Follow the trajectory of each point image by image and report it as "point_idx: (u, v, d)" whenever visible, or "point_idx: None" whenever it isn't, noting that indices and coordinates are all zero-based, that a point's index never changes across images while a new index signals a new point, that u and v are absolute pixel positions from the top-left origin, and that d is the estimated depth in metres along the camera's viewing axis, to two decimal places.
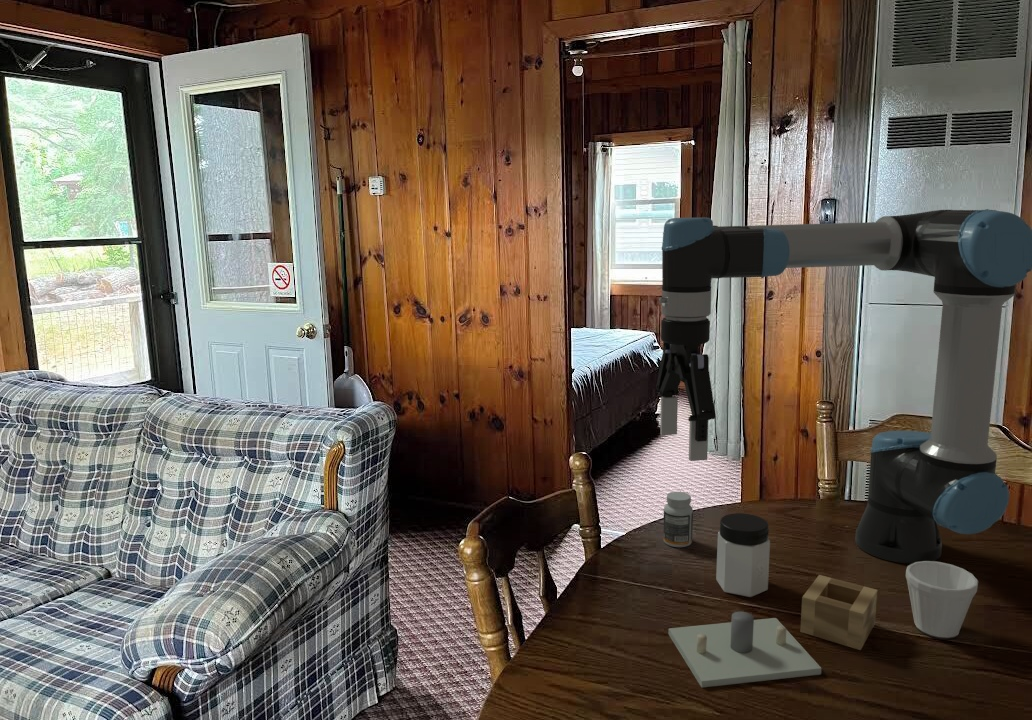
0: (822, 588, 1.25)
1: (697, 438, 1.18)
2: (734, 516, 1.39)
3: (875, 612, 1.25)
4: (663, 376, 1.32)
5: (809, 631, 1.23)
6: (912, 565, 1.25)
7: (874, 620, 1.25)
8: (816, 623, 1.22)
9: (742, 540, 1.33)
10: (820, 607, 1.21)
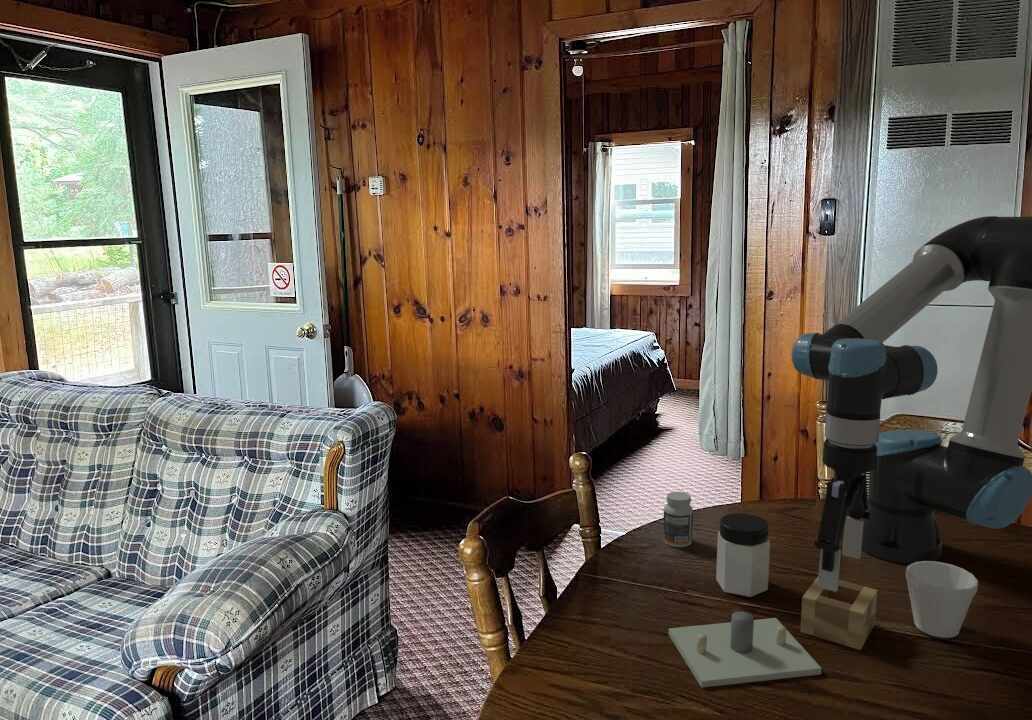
0: (822, 588, 1.25)
1: (822, 566, 1.16)
2: (734, 516, 1.39)
3: (875, 612, 1.25)
4: None
5: (809, 631, 1.23)
6: (912, 565, 1.25)
7: (874, 620, 1.25)
8: (816, 623, 1.22)
9: (742, 540, 1.33)
10: (820, 607, 1.21)
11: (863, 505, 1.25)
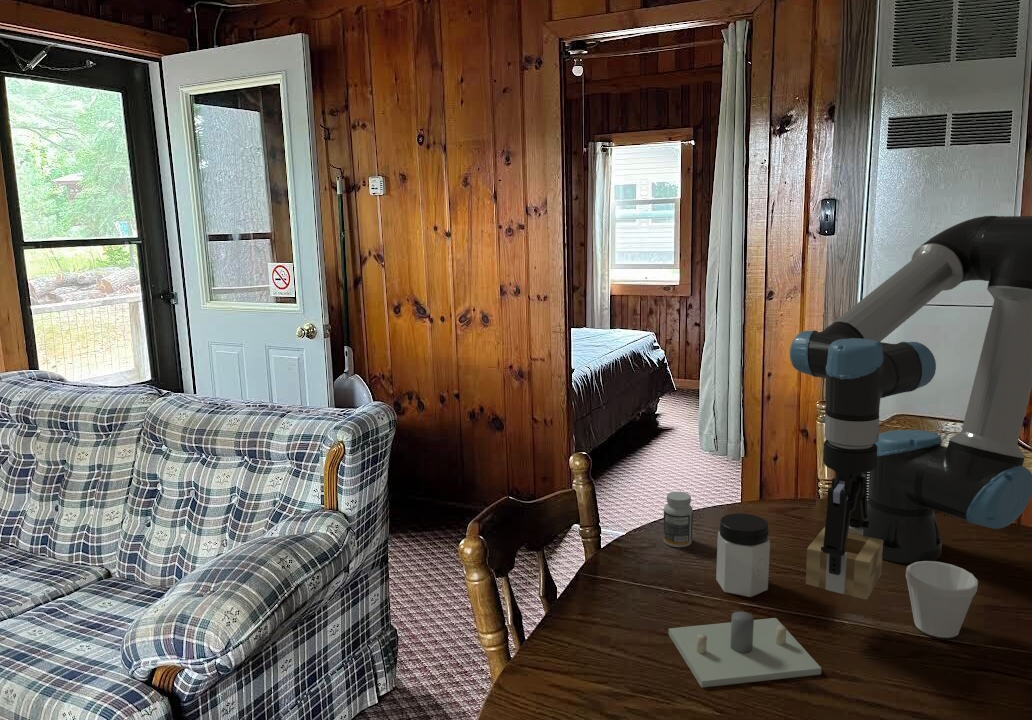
0: None
1: (829, 570, 1.18)
2: (734, 516, 1.39)
3: (881, 563, 1.23)
4: None
5: (815, 583, 1.21)
6: (912, 565, 1.25)
7: (880, 571, 1.23)
8: (821, 574, 1.20)
9: (742, 540, 1.33)
10: (825, 558, 1.19)
11: (863, 512, 1.24)
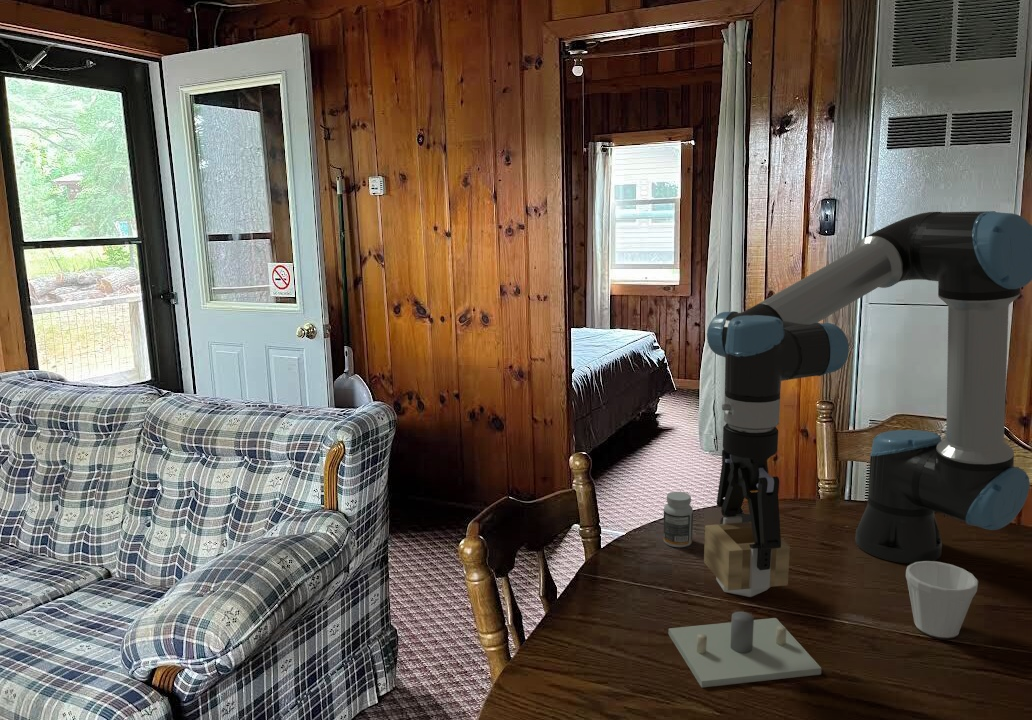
0: (728, 536, 1.14)
1: (759, 567, 1.09)
2: None
3: None
4: (724, 490, 1.19)
5: (737, 586, 1.10)
6: (912, 565, 1.25)
7: None
8: (744, 574, 1.10)
9: None
10: (748, 555, 1.10)
11: None
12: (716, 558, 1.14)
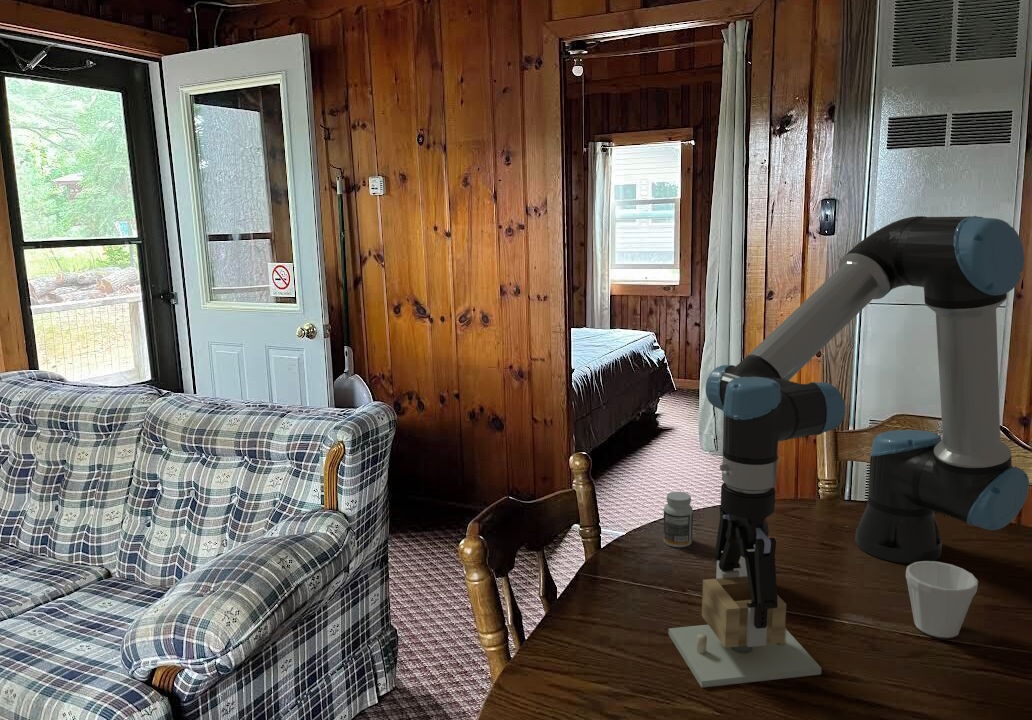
0: (725, 592, 1.16)
1: (756, 625, 1.10)
2: None
3: None
4: (722, 545, 1.21)
5: (734, 643, 1.12)
6: (912, 565, 1.25)
7: None
8: (741, 631, 1.12)
9: None
10: (745, 613, 1.12)
11: None
12: (714, 614, 1.16)
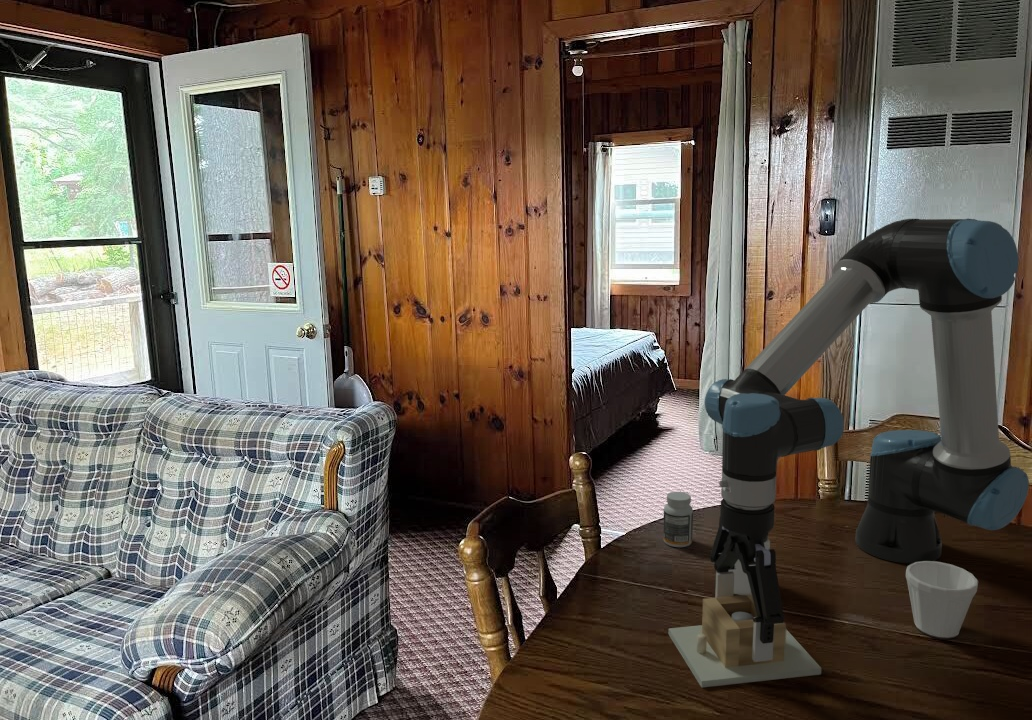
0: (725, 612, 1.16)
1: (762, 640, 1.09)
2: None
3: None
4: (718, 550, 1.23)
5: (734, 663, 1.13)
6: (912, 565, 1.25)
7: None
8: (741, 651, 1.13)
9: None
10: (745, 633, 1.12)
11: None
12: (714, 633, 1.16)
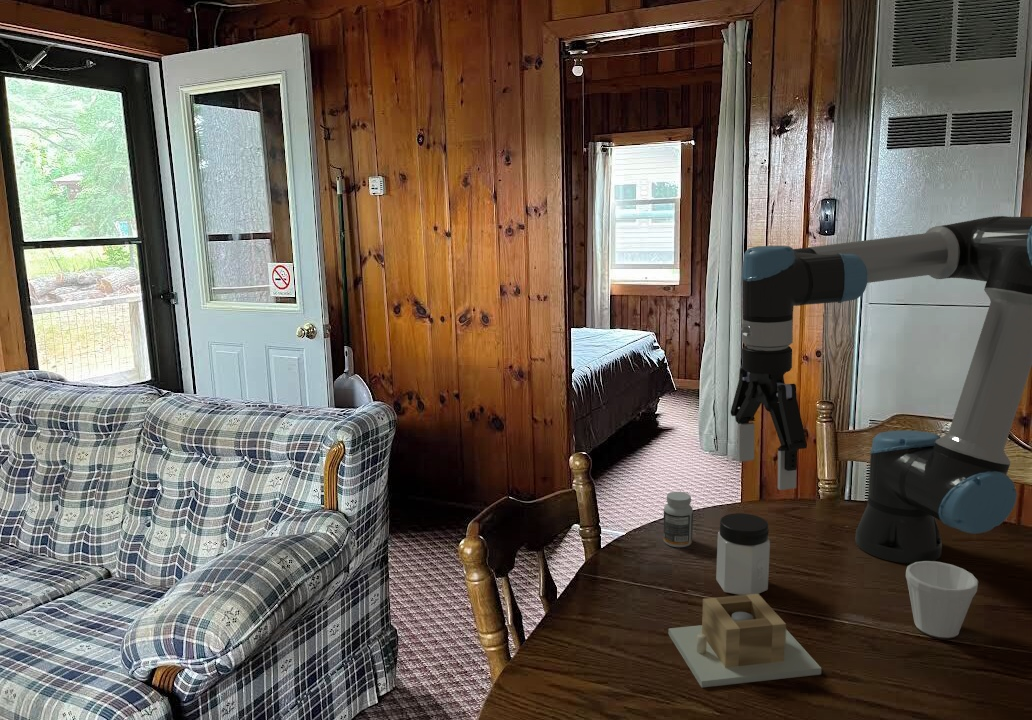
0: (725, 612, 1.16)
1: (787, 468, 1.18)
2: (734, 516, 1.39)
3: None
4: (739, 402, 1.32)
5: (734, 663, 1.13)
6: (912, 565, 1.25)
7: None
8: (741, 651, 1.13)
9: (742, 540, 1.33)
10: (745, 633, 1.12)
11: None
12: (714, 633, 1.16)
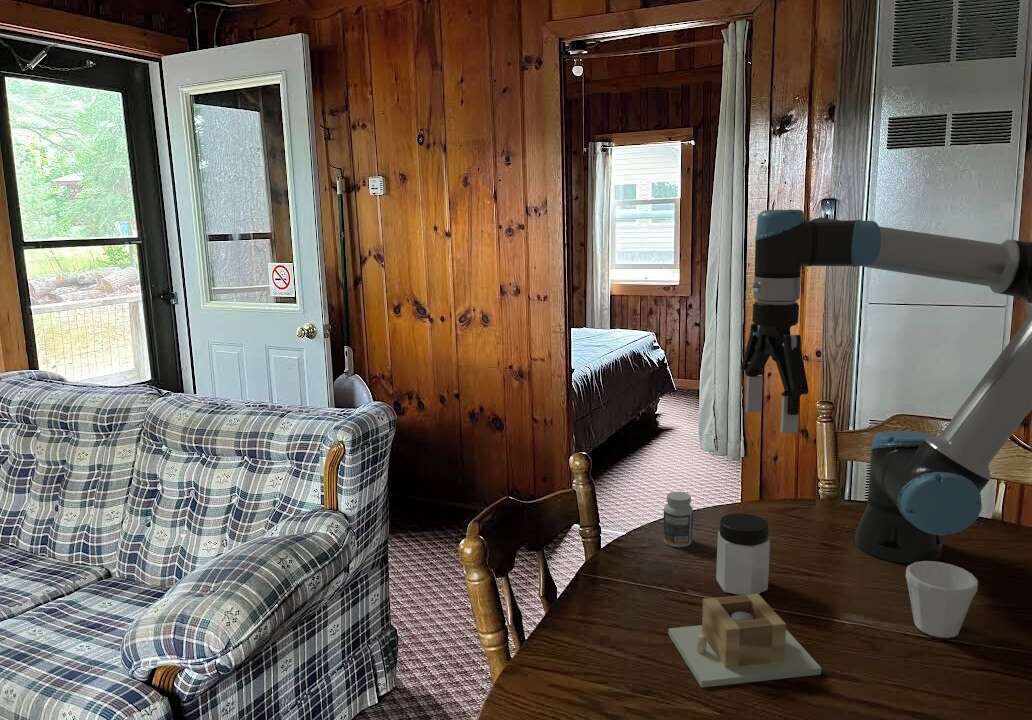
0: (725, 612, 1.16)
1: (790, 412, 1.29)
2: (734, 516, 1.39)
3: None
4: (749, 357, 1.43)
5: (734, 663, 1.13)
6: (912, 565, 1.25)
7: None
8: (741, 651, 1.13)
9: (742, 540, 1.33)
10: (745, 633, 1.12)
11: None
12: (714, 633, 1.16)
